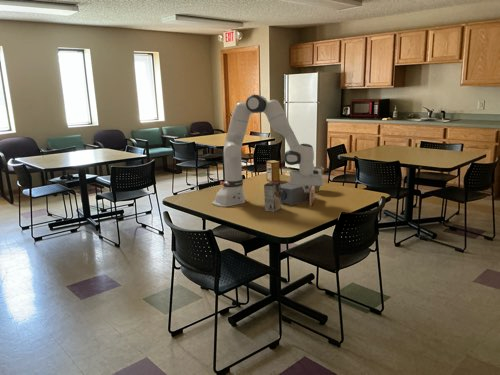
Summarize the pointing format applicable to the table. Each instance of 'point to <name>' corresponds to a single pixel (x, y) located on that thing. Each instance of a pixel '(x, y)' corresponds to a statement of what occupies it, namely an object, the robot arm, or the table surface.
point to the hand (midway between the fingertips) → (306, 192)
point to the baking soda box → (272, 171)
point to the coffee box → (272, 196)
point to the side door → (312, 195)
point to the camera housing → (293, 194)
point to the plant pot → (322, 175)
